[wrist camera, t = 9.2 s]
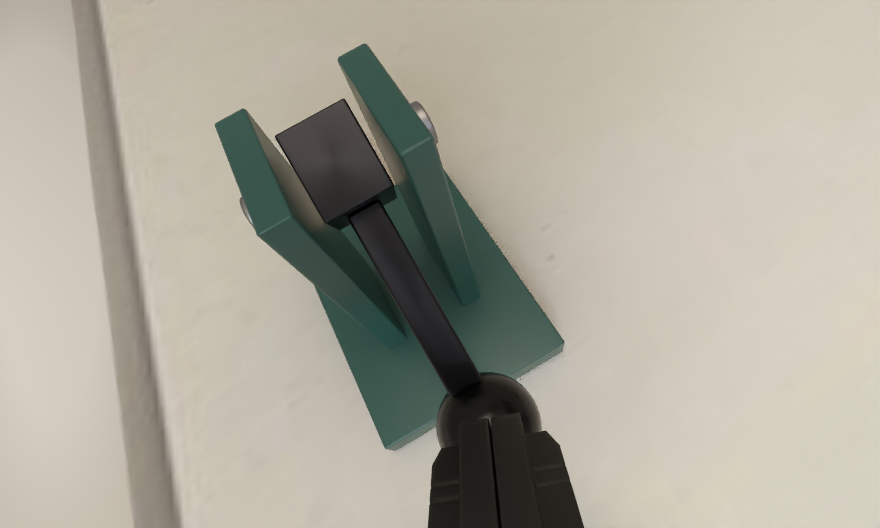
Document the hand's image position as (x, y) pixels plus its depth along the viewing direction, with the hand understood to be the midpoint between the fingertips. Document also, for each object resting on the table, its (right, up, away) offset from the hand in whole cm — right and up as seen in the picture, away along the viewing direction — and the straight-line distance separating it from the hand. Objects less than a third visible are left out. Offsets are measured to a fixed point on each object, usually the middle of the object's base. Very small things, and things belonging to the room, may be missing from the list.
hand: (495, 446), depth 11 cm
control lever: (-2, +3, +4) cm, 6 cm away
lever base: (-2, +3, +12) cm, 13 cm away
